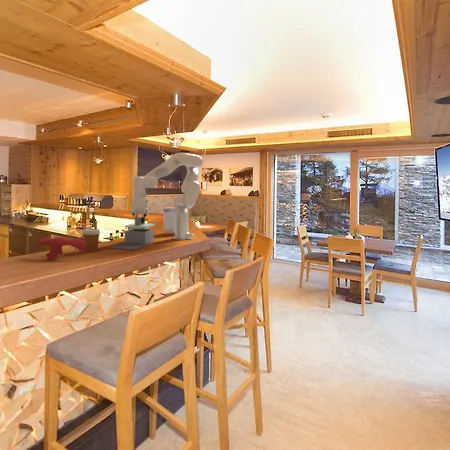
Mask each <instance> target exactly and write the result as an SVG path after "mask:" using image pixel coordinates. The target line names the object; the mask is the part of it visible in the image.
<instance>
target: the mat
mask: <svg viewBox="0 0 450 450" xmlns="http://www.w3.org/2000/svg"><path fill="white" fill-rule="evenodd" d="M148 245H149V243H148V244H135V243H125V242H119V243H116V244H114V245H110V246H109V247H107V248H106V250H107V249H109V250H126V251H137V250H139V249H142V248H144V247H146V246H148Z"/></svg>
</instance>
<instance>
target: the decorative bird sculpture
mask: <svg viewBox="0 0 450 450" xmlns="http://www.w3.org/2000/svg"><path fill="white" fill-rule="evenodd" d="M44 245H46V246H47V245H48V247H49V250H50V251H48V252H47V253H46V254H45V256H46V258H47V260H50V261H52V260H54V261H55V259H56V257H59V255H62V257H64V256H65V254H64V253H63V246H68V247H72V248H74V249H75V250H78V251H80V253H81V254H82V253H86V252H87V251H86V249H87V244H86V242H85V241H84V239H81V238H79V237H77V238H67V237H62V236H56V237H53V238H52V237H51V236H47V237H44V238H42V239H40V240H38V241H36V243H35V244H34V247H33V249H32V250H33V251H35V250H36V249H37V248H38V247H40V246H44Z"/></svg>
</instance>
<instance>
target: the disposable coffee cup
mask: <svg viewBox="0 0 450 450" xmlns="http://www.w3.org/2000/svg"><path fill="white" fill-rule="evenodd" d="M81 233H82V237H83V241H85V242H86V244H87V249H86V251H85V252H88V253H93V252H97V251H99V250H98V249H99V239H100V235H101V234H100V233H101V232H100V229H98V228H86V229H83V230H82V232H81Z"/></svg>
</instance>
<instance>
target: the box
mask: <svg viewBox="0 0 450 450" xmlns="http://www.w3.org/2000/svg"><path fill="white" fill-rule="evenodd" d="M152 242H154V229H152V228H151V229H150V228H147V229H128V230H125V231H124V243H135V244H148V245H149V244H150V243H152Z"/></svg>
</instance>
